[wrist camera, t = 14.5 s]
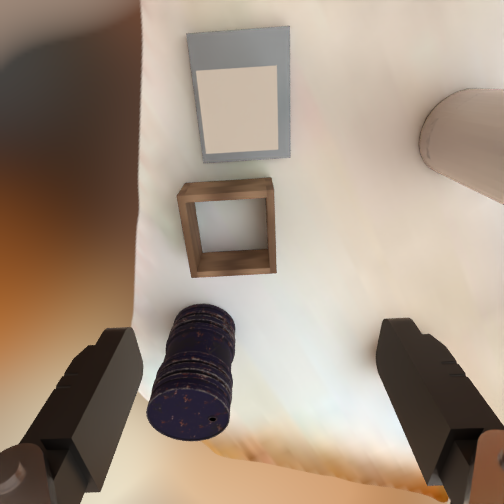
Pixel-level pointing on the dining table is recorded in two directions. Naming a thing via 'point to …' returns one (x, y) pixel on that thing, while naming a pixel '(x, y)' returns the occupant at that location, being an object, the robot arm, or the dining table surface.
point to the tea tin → (239, 109)
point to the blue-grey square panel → (241, 56)
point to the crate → (227, 260)
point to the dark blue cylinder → (195, 376)
